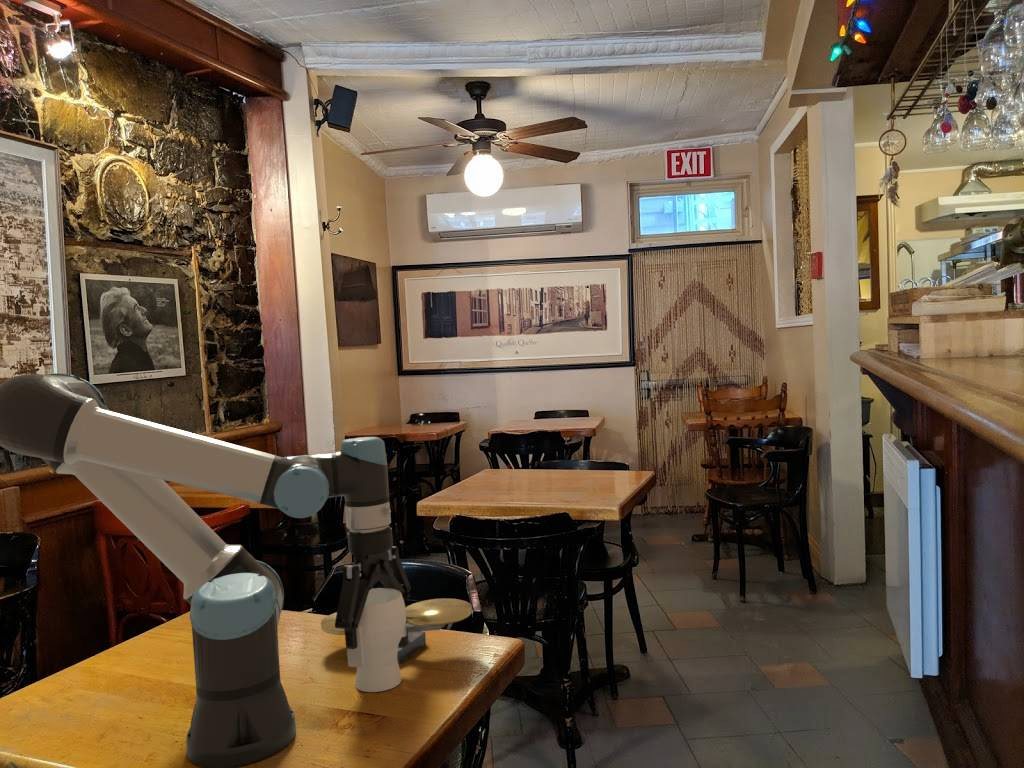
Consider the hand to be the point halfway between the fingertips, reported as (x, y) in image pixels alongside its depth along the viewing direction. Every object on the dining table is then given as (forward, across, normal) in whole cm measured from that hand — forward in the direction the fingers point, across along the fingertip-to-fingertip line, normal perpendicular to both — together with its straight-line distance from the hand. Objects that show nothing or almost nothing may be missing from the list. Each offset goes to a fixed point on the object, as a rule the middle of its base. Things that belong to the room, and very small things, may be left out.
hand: (378, 650), depth 127 cm
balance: (+6, +13, +4) cm, 15 cm away
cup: (+6, 0, 0) cm, 6 cm away
